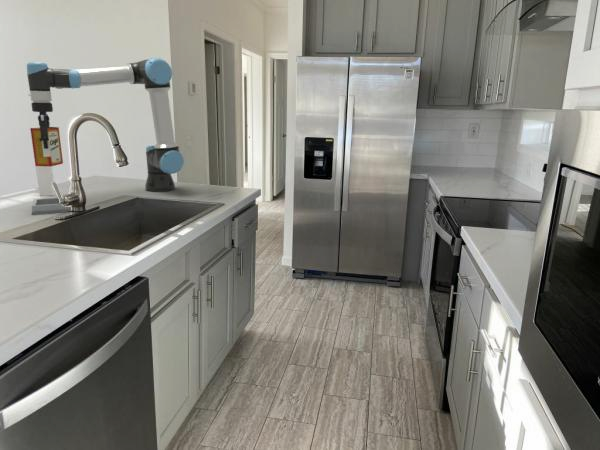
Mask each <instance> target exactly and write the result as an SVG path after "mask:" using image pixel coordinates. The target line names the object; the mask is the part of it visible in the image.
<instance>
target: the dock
mask: <svg viewBox="0 0 600 450" xmlns="http://www.w3.org/2000/svg"><path fill="white" fill-rule="evenodd" d="M58 198H59V197H48V198H46V197H45V198H34V199H33V201H32V204H31V209H32V210H31V215H32V216H34V215H35V216H36V215H37V216H38V215H46V214H47V215H49V214H59V213H68V212H67V211H70V210H71V207H65V206H62V205H61V204H60V203H59V199H58Z"/></svg>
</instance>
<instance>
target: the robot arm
mask: <svg viewBox="0 0 600 450" xmlns="http://www.w3.org/2000/svg"><path fill="white" fill-rule="evenodd" d="M172 71H173V70H172V68H171V66H170V64H169V63H168V62H167V61H166V60H165V59H162V58H160V57H159V58H157V57H152V58H149V59H142V60H140V61H137V62H131V63H130V62H128V63H126V65H119V66H118V65H117V66H107V67H106V66H105V67H92V68H91V67H90V68H76V69H66V68H65V69H63V68H49V67H48V64H47V63H46V62H37V61H36V62H35V61H34V62H32V61H31V62H28V63H27V64H26V72H27V73H26V75H27V81H28V88H29V93H28V95H27V96H29V97H30V101H31V108H32V109H31V110H32V112H34V113H39V115H38V116H37V120H38V127H40V133H41V139H39V140H40V141H42V148H43V156H44V157H51V151H50V143H49V139H48V129H47V128H48V127H50V116H49V115H48V114H47V113H52V112H54V108H53V103H52V101H53V100H52V91H51V88H55V89H59V90H60V89H80V88H81V87H92V86H100V85H102V86H104V85H114V84H124V83H125V84H126V83H127V84H128V83H129V84H130V85H144V89H145V91H147V92H148V94H149V100H150V108H151V113H152V120H153V121H152V122H153V128H154V132H155V133H154V134H155V140H156V144H155V145H148V146H146V148H145V151H146V152H145V155H146V167H147V169H146V170H147V178H146V181H145V185H144V186H145V187H144V189H145V191H147V192H169V191H173V190H175V189H176V183H175V182H174V179H173V176H172V175H173V174H177V173H178V172H180V171H181V170H182V168H183V166H184V164H185V163H184V162H185V160H184V156H183V155H182V153H181V152H180V147H179V144H178V143H177V142H176V141H175V134H174V127H173V119H172V113H171V112H172V111H171V105H170V104H171V103H170V100H169V99H170V98H169V91H170V90H171V83H170V82H171V79H172V76H173V72H172Z"/></svg>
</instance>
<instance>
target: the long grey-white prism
mask: <svg viewBox="0 0 600 450" xmlns="http://www.w3.org/2000/svg"><path fill="white" fill-rule="evenodd" d="M35 171H36V179H37V186H38V187H37V188H38V193H39V197H48V196H54V195H55V194H56V193H55V192H56V190H55V191H54V189H53V187H52V182H54V183H55V179H54V172H53V166H35Z"/></svg>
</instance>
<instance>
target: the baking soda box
mask: <svg viewBox="0 0 600 450" xmlns="http://www.w3.org/2000/svg"><path fill="white" fill-rule="evenodd" d="M47 129H48V139H49V143H50V151H51V157H44V156H43V148H42V141H40V140H39V139H41V133H40V126H38V127H30V129H29V130H30V136H31V145H32V150H33V159H34V166H35V167H36V166H52V167H55V166H58V165H63V163H64V159H63V153H62V145H61V135H60V127H59V126H58V127H57V126H49V127H48V128H47Z"/></svg>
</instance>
